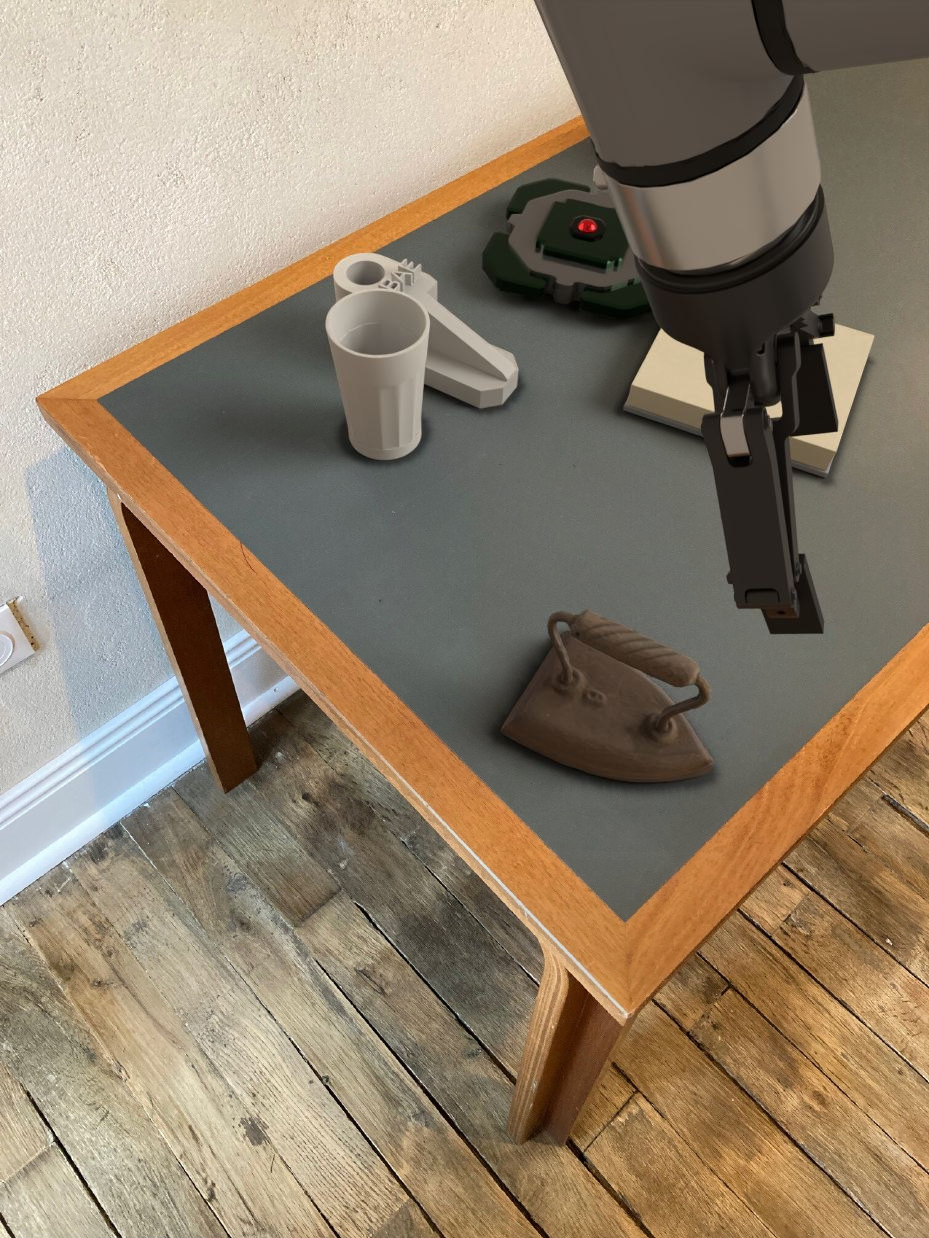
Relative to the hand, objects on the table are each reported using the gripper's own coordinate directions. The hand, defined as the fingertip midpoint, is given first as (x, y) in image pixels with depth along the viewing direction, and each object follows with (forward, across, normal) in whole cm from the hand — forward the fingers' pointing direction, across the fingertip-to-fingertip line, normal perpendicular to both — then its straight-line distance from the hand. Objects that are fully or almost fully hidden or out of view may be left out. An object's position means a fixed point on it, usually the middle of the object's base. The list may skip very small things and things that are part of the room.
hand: (806, 523), depth 53 cm
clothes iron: (+14, +7, -14) cm, 21 cm away
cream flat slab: (+20, -30, -10) cm, 38 cm away
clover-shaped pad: (+13, -44, -27) cm, 53 cm away
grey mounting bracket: (+7, -26, -36) cm, 45 cm away
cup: (+5, -16, -37) cm, 41 cm away
